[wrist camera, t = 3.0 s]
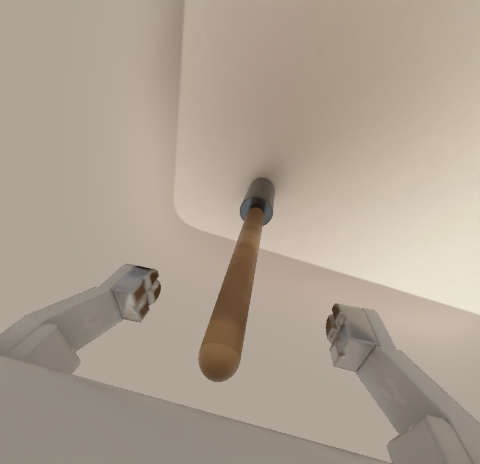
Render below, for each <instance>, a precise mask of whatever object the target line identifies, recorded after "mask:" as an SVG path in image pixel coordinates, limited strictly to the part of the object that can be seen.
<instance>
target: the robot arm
mask: <svg viewBox="0 0 480 464" xmlns="http://www.w3.org/2000/svg"><path fill="white" fill-rule="evenodd" d="M158 276H159V275H158V271H157V270H155V269H150V268H145V267H141V266H135V265H131V264H125V265H123V266H122V267H121V268H120V269H118V270H117V271H116V272H115V273H114V274H113V275H112V276H111V277H109V278H108V279H107V280H106V281H105V282H104V283H103V284H102V285H101V286H99V287H98V288H97V287H94V288H92V289H89V290H87V291H84V292H82V293H79V294H77V295H74V296H72V297H70V298H68V299H65V300H62V301H60V302H57V303H55V304H52V305H50V306H48V307H45V308H43V309H40V310H38V311H36V312H33V313H31V314H28V315H26V316H24V317H23V318H21V319H20V320H19V321H18V322H16V323H15V324H13V325H12V326H11V327H10V328H8V329H7V330H5V331H4V332H3V333H1V334H0V464H480V423H479V422H478V421H477V420H476V419H475V418H474V417H473V416H472V415H470V414H469V413H468V412H467V411H466V410H465V409H464V408H463V407H462V406H460V404H458V403H457V402H456V401H455V400H454V399H453V398H452V397H451V396H450V395H449V394H448V393H446V392H445V391H444V390H443V389H442V388H441V387H440V386H439V385H438V384H436V383H435V382H434V381H433V380H432V379H431V378H430V377H429V376H428V375H427V374H426V373H425V372H423V371H422V370H421V369H420V368H419V367H418V366H417V365H416V364H415V363H414V362H413V361H411V360H410V359H409V358H408V357H407V356H406V355H405V354H404V353H403V352H402V351H399V350H396V348H395V346H394V344H393V342H392V340H391V338H390V336H389V334H388V332H387V330H386V328H385V326H384V324H383V323H382V321H381V319H380V317H379V315H378V313H377V312H376V311H375V310H371V309H365V308H360V307H354V306H349V305H343V304H337V303H336V304H335V305H334V306H333V308H332V311H333V314H331V315H330V316H329V317H328V319H327V324H326V334H327V338H328V340H329V341H330V342H331V343H332V346H331V348H330V353H331V357H332V362H333V366H335V367H339V368H342V369H347V370H350V371H354V372H356V374H357V375H358V377H359V378H360V380H361V381H362V382H363V384H364V385H365V387H366V388H367V390H368V391H369V392H370V394H371V395H372V397H373V398H374V400H375V401H376V402H377V404H378V405H379V407H380V408H381V409H382V411H383V412H384V414H385V415H386V416H387V418H388V419H389V421H390V422H391V424H392V425H393V427H394V428H395V429H396V431H397V432H398V434H399V435H398V436H397V437H395V438H394V439H392V440H391V441H390V442H389V443H388V445H387V448H388V451H389V454H390V458H391V461H392V463H390V462H386V461H382V460H379V459H375V458H371V457H368V456H364V455H360V454H357V453H353V452H350V451H346V450H343V449H339V448H335V447H332V446H328V445H324V444H321V443H317V442H314V441H310V440H307V439H303V438H299V437H296V436H292V435H289V434H285V433H281V432H277V431H274V430H271V429H267V428H263V427H260V426H255V425H252V424H249V423H245V422H242V421H238V420H234V419H231V418H227V417H224V416H220V415H216V414H213V413H209V412H206V411H202V410H198V409H195V408H191V407H188V406H184V405H180V404H177V403H173V402H169V401H166V400H162V399H159V398H155V397H152V396H148V395H144V394H140V393H137V392H133V391H130V390H126V389H123V388H119V387H115V386H112V385H108V384H104V383H101V382H97V381H94V380H90V379H87V378H83V377H79V376H76V375H72V373H73V372H74V371H75V370H76V368H77V367H78V366H79V365H80V359H79V357H78V356H77V354H76V353H75V352H76V351H77V350H79V349H80V348H82V347H83V346H85V345H86V344H88V343H89V342H91V341H92V340H94V339H95V338H97V337H98V336H100V335H101V334H103V333H104V332H106V331H107V330H109V329H110V328H112V327H113V326H115V325H116V324H118V323H119V322H121V321H122V320H123V319H126V320H131V321H136V322H141V321H142V319H143V318H144V317H145V315H146V314H147V313H148V311H149V305H151V304H152V303H154V302H155V301H156V300H157V298H158V296H159V294H160V290H161V285H160V282H159V281H158V280H157V278H158Z"/></svg>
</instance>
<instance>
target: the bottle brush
mask: <svg viewBox="0 0 480 464" xmlns="http://www.w3.org/2000/svg"><path fill="white" fill-rule="evenodd" d="M273 204H274V186H273V184H272V183H271V181H269V180H268V179H265V178H259V179H256V180H254V181H253V182H252V183H251V185H250V187H249V189H248V192H247V194H246V196H245V198H244V200H243V203H242V205H241V208H240V215H241V217H242V219H243V220H244V224H243V227H242V230H241V232H240V235H239V238H238V241H237V244H236V247H235V250H234V253H233V255H232V258H231V261H230V264H229V267H228V270H227V273H226V276H225V278H224V282H223V284H222V287H221V290H220V293H219V296H218V299H217V302H216V305H215V307H214V310H213V314H212V316H211V319H210V322H209V325H208V328H207V330H206V333H205V336H204V339H203V342H202V344H201V347H200V351H199V359H198V360H199V366H200V369H201V371H202V373H203V374H204V375H205V376H206V377H207V378H208V379H209V380H212V381H214V382H222V381H225V380H227V379H229V378H230V377H232V376H233V375H234V373H235V372H236V371H237V369H238V367H239V363H240V359H241V353H242V347H243V341H244V335H245V329H246V322H247V316H248V310H249V304H250V298H251V291H252V286H253V280H254V274H255V267H256V262H257V255H258V249H259V243H260V237H261V231H262V226H264V225H266V224H267V223H268V222H269V221H270V220H271V218H272V215H273Z"/></svg>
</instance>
